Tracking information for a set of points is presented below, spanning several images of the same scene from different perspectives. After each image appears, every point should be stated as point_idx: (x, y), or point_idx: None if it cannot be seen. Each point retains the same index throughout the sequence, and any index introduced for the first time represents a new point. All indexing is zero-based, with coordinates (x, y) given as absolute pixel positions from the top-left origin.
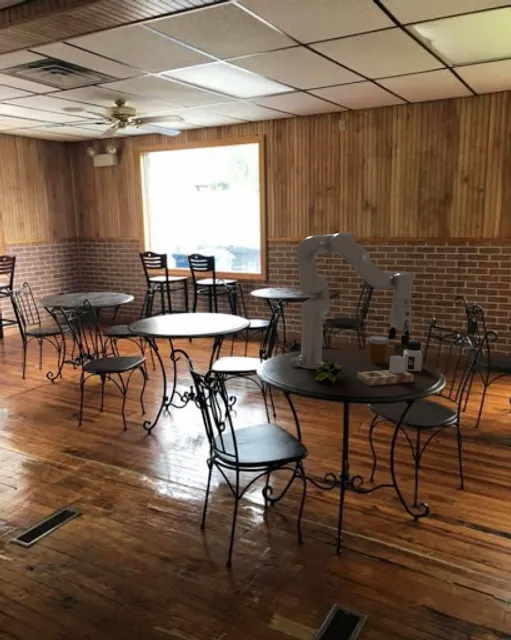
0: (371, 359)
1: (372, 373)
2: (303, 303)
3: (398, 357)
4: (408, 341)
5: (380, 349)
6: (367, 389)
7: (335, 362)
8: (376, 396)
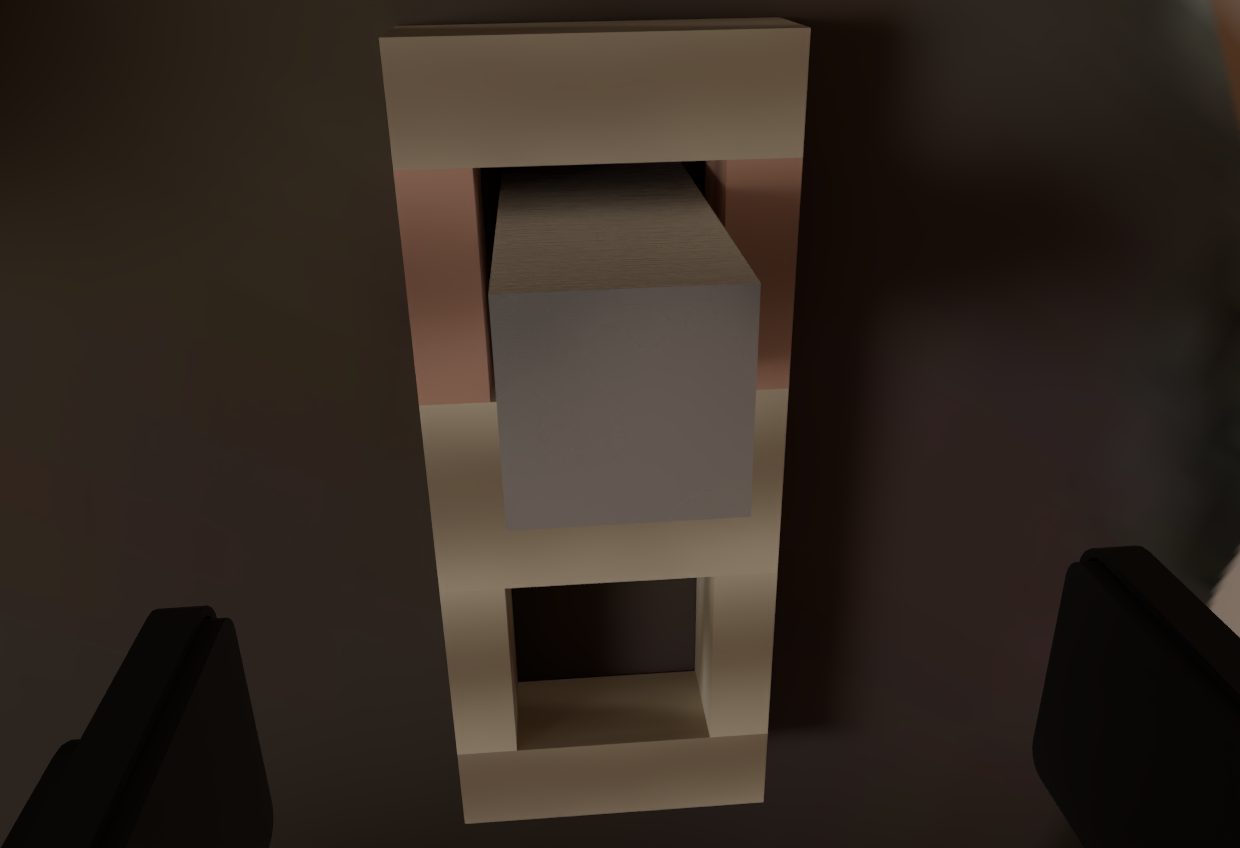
0: None
1: (509, 637)
2: None
3: (657, 407)
4: (1204, 605)
5: None
6: (869, 777)
7: None
8: None
